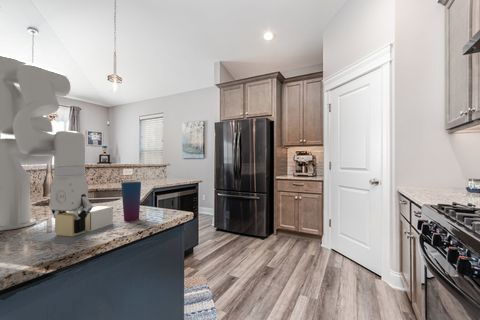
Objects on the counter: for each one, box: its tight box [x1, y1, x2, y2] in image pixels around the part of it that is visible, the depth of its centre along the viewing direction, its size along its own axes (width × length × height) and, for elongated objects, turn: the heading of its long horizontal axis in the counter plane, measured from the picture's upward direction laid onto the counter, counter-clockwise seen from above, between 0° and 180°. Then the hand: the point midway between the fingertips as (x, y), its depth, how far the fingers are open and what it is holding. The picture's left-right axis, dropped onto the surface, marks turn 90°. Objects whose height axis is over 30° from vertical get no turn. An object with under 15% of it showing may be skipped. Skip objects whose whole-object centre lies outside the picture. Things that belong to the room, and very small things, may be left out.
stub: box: [56, 211, 85, 236], centre depth 68 cm, size 6×4×6 cm, turn 75°
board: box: [25, 222, 125, 245], centre depth 71 cm, size 16×20×1 cm
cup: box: [120, 180, 142, 223], centre depth 85 cm, size 7×7×15 cm
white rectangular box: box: [79, 205, 114, 231], centre depth 76 cm, size 6×9×6 cm
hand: (70, 230), depth 68 cm, fingers closed on stub, 6 cm apart
